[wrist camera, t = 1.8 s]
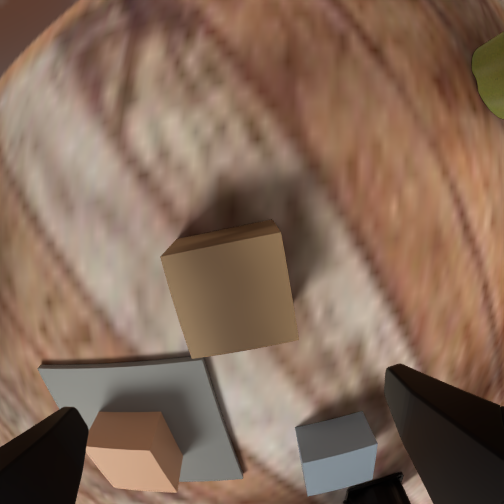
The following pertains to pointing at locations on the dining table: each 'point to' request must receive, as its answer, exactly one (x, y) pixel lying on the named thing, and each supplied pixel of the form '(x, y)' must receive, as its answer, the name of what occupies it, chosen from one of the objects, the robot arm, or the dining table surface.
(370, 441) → the slate block
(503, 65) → the plant pot
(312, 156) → the dining table surface
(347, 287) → the dining table surface
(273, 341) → the walnut block
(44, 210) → the dining table surface
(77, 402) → the tower base
